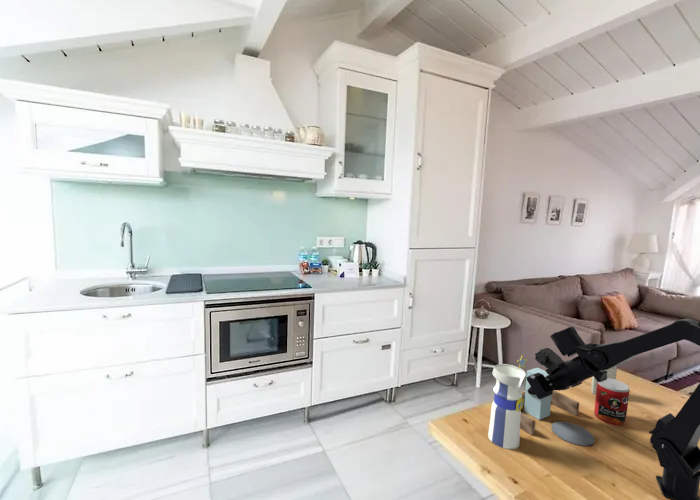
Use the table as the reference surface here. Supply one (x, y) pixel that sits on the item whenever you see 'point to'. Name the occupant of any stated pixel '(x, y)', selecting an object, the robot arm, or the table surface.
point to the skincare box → (610, 374)
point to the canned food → (611, 401)
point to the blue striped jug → (507, 405)
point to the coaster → (572, 433)
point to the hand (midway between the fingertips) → (534, 390)
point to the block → (537, 399)
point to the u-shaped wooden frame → (556, 400)
